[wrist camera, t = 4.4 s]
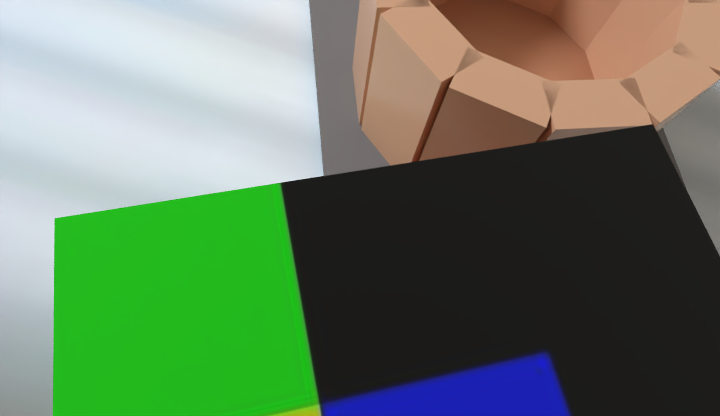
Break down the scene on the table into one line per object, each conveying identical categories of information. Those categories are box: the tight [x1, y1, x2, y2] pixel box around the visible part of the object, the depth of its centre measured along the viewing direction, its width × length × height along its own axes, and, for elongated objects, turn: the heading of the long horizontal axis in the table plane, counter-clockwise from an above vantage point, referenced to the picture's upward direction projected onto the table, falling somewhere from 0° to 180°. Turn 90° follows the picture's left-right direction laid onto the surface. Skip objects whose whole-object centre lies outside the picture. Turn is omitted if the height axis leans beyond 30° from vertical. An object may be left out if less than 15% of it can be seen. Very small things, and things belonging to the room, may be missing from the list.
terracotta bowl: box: [352, 0, 720, 165], centre depth 18 cm, size 11×11×6 cm
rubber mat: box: [309, 0, 686, 188], centre depth 21 cm, size 14×14×1 cm
